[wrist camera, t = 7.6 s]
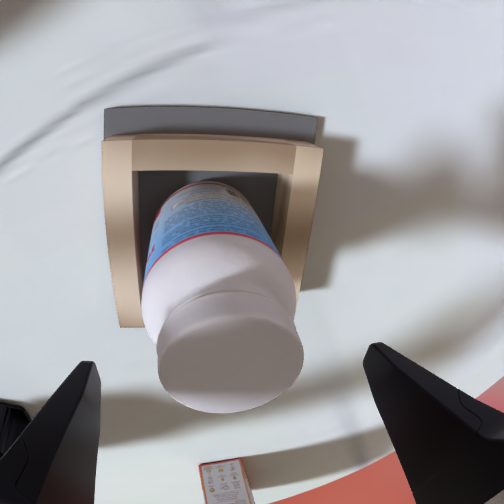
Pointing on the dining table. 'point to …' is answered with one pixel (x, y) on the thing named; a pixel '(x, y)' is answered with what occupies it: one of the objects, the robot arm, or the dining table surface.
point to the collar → (205, 159)
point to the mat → (169, 181)
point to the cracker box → (225, 483)
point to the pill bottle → (219, 302)
